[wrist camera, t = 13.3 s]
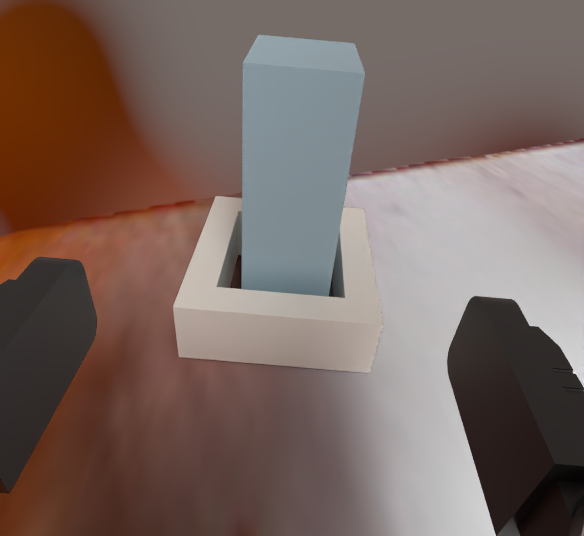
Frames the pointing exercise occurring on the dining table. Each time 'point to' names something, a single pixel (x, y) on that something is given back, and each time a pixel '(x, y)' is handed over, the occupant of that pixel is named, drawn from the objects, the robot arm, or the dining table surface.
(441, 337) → the dining table surface
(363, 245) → the end cap
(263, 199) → the blue-grey rectangular block
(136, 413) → the dining table surface
